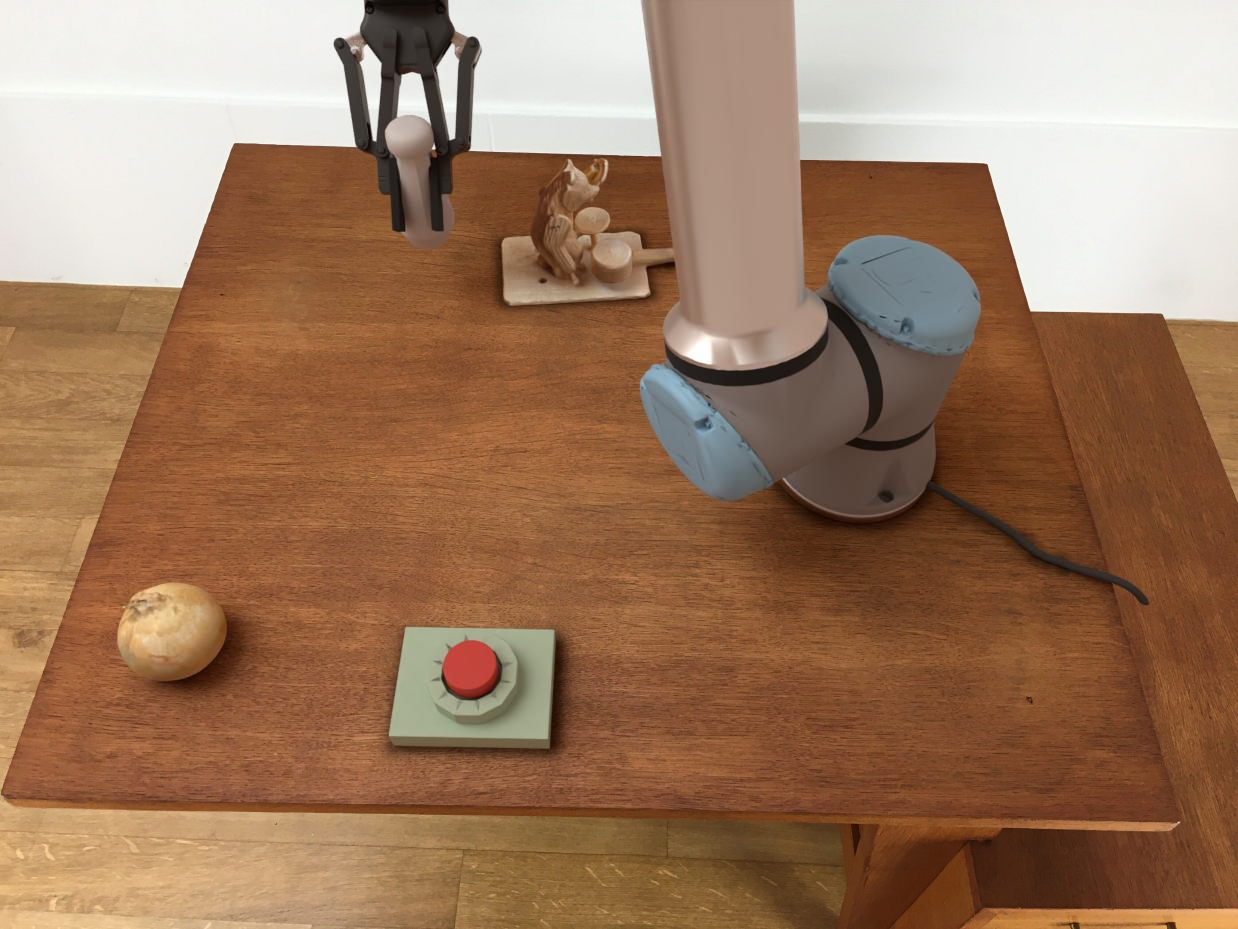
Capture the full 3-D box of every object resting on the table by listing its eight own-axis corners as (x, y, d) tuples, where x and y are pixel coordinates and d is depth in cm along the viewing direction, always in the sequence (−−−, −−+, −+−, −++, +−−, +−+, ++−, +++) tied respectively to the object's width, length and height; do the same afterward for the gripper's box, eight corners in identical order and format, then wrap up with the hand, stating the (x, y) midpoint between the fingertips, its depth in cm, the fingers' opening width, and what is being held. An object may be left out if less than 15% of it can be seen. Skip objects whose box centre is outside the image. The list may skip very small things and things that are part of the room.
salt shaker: (447, 260, 95) (428, 149, 84) (392, 252, 95) (365, 140, 85) (464, 221, 98) (447, 109, 87) (410, 213, 99) (386, 101, 88)
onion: (239, 597, 81) (210, 555, 75) (232, 686, 77) (202, 648, 71) (140, 610, 80) (104, 569, 75) (128, 700, 76) (88, 664, 70)
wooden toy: (501, 306, 101) (488, 202, 90) (501, 239, 107) (489, 133, 96) (709, 298, 102) (722, 194, 91) (698, 232, 108) (709, 126, 97)
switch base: (555, 640, 79) (553, 619, 76) (549, 749, 74) (547, 730, 71) (410, 638, 79) (401, 616, 76) (393, 746, 74) (383, 727, 71)
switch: (500, 649, 75) (498, 640, 73) (496, 699, 73) (493, 690, 71) (449, 648, 75) (446, 639, 73) (443, 698, 73) (439, 689, 71)
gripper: (497, -24, 91) (506, 231, 95) (325, -23, 90) (342, 234, 94) (489, -52, 83) (500, 226, 88) (302, -51, 83) (322, 229, 87)
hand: (418, 230), depth 91 cm, fingers closed on salt shaker, 3 cm apart
